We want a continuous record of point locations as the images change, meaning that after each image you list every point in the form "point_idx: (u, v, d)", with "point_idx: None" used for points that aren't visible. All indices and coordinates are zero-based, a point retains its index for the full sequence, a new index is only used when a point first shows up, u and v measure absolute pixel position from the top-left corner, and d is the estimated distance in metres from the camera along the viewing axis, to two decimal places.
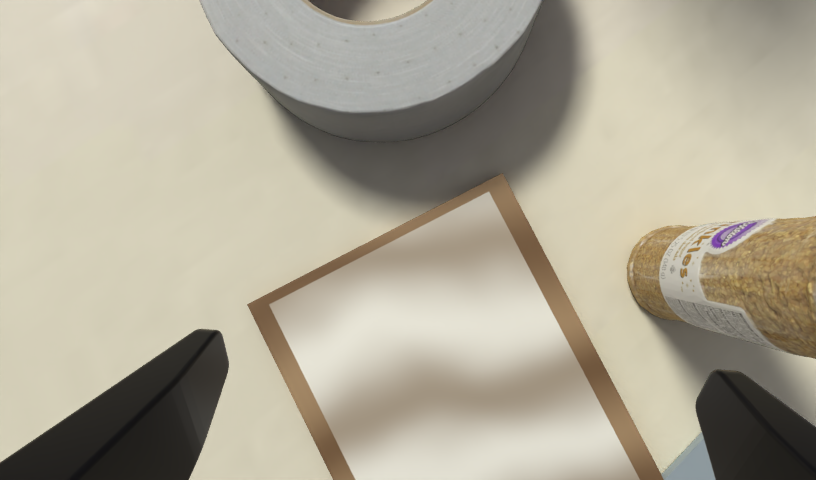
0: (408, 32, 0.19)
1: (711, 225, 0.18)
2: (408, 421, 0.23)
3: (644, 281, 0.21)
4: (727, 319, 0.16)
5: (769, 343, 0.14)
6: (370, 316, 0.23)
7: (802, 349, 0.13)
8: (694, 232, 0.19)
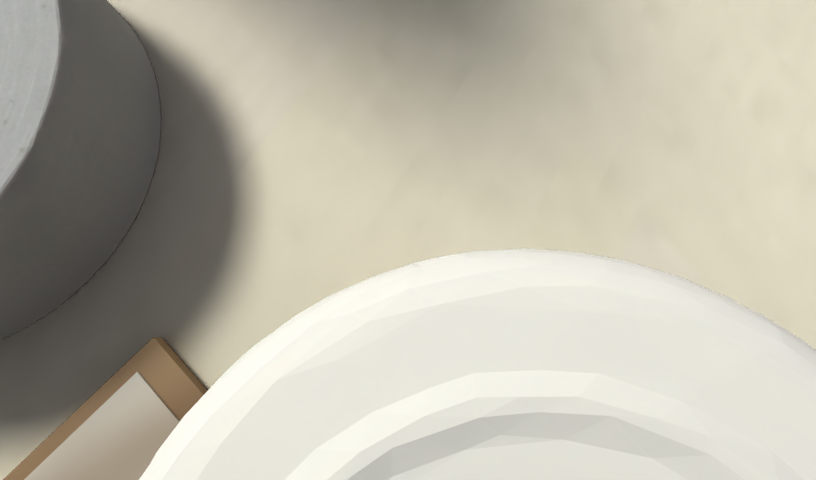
0: None
1: None
2: None
3: None
4: None
5: None
6: None
7: None
8: None
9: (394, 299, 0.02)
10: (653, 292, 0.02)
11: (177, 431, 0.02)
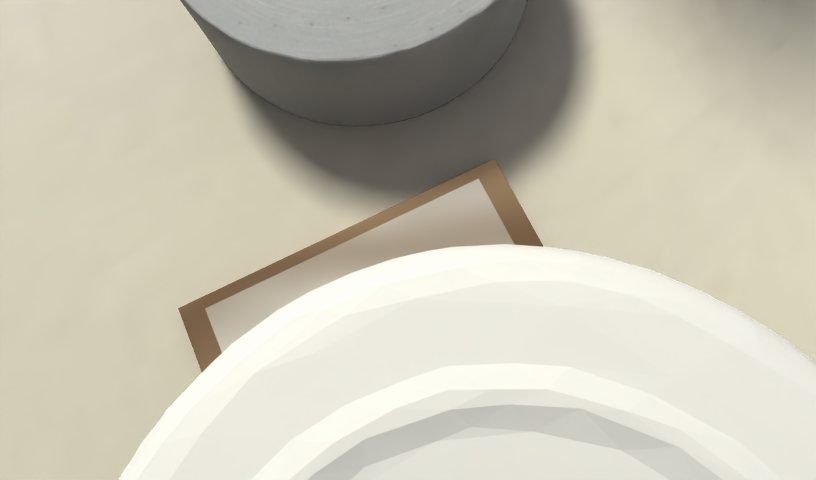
0: None
1: None
2: None
3: None
4: None
5: None
6: None
7: None
8: None
9: (370, 294, 0.02)
10: (626, 286, 0.02)
11: (160, 422, 0.02)
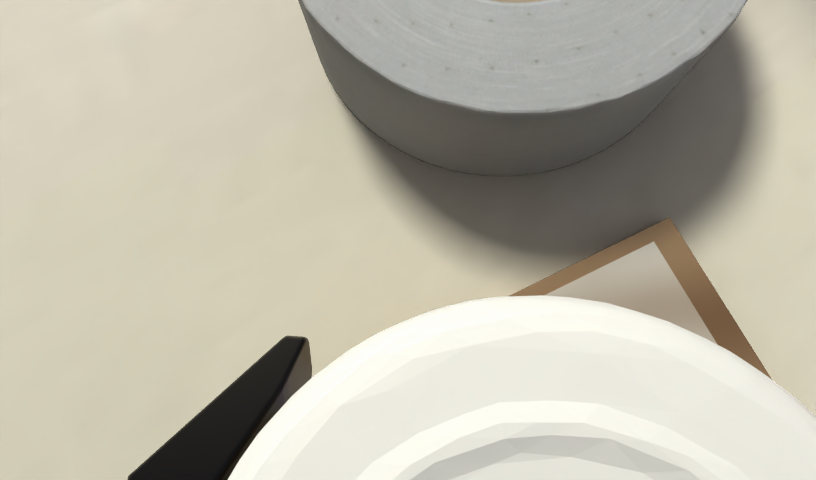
0: (577, 11, 0.14)
1: None
2: None
3: None
4: None
5: None
6: None
7: None
8: None
9: (433, 340, 0.03)
10: (645, 336, 0.03)
11: (258, 446, 0.03)
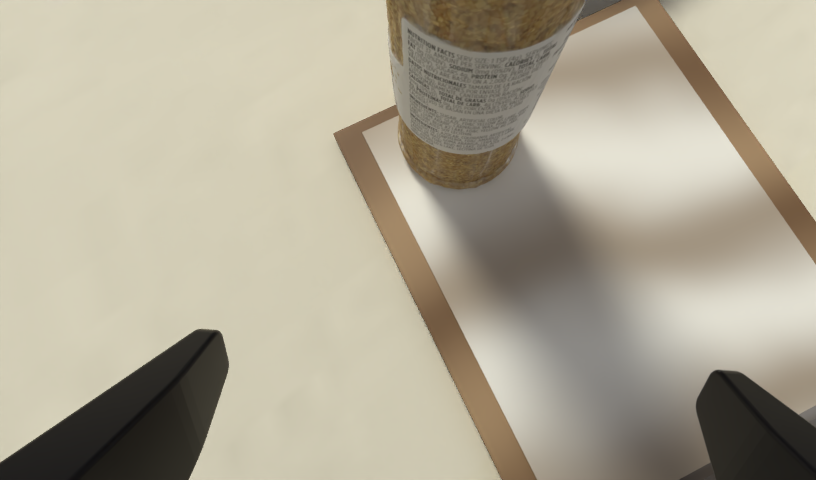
0: None
1: None
2: (549, 279, 0.17)
3: (406, 139, 0.16)
4: (422, 67, 0.10)
5: (459, 51, 0.09)
6: None
7: None
8: None
9: None
10: None
11: None
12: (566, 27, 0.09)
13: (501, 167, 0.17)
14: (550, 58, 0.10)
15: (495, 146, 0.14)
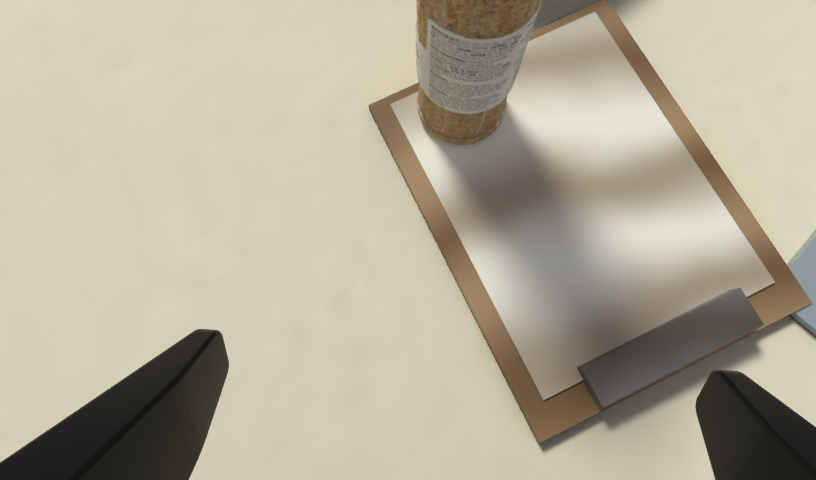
0: None
1: None
2: (527, 209, 0.23)
3: (424, 106, 0.22)
4: (439, 50, 0.17)
5: (463, 39, 0.15)
6: None
7: (464, 8, 0.14)
8: None
9: None
10: None
11: None
12: (526, 25, 0.16)
13: (492, 128, 0.23)
14: (519, 44, 0.16)
15: (487, 108, 0.20)
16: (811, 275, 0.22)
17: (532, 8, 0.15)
